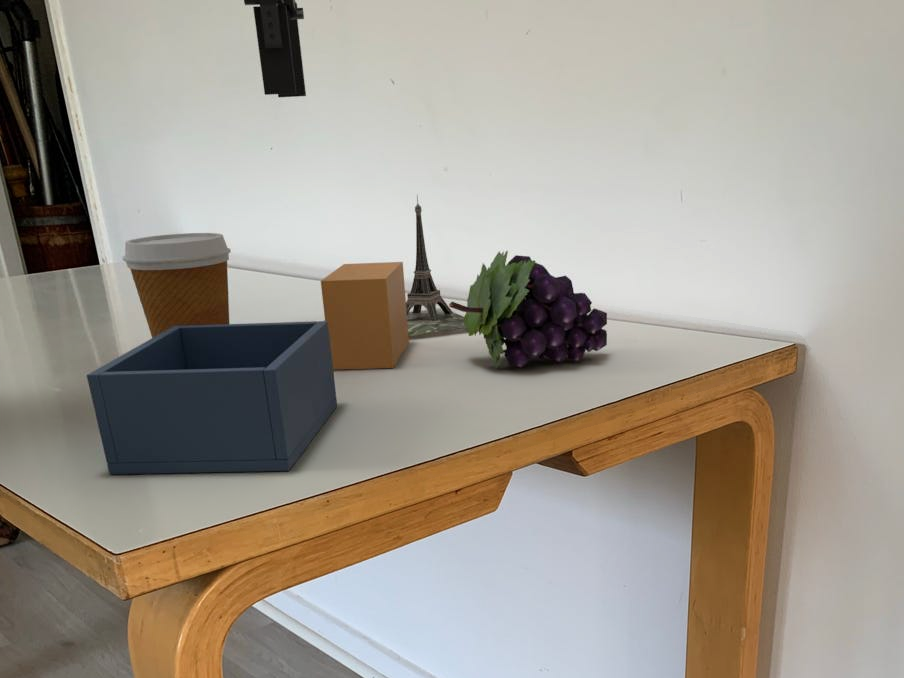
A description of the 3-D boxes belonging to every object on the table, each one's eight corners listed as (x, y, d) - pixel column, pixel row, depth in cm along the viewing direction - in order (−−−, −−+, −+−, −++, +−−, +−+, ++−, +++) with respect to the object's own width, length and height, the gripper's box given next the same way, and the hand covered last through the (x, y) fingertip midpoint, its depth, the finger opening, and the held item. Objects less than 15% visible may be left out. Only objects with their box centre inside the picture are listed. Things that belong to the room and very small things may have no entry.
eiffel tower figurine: (359, 319, 116) (347, 194, 110) (439, 309, 119) (432, 188, 113) (400, 340, 104) (389, 202, 97) (488, 329, 107) (483, 194, 101)
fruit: (605, 398, 91) (452, 374, 86) (570, 356, 99) (428, 332, 94) (642, 288, 86) (480, 255, 81) (601, 253, 94) (452, 221, 89)
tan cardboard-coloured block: (330, 370, 93) (320, 280, 89) (352, 345, 103) (343, 263, 99) (393, 368, 93) (385, 278, 89) (409, 343, 102) (402, 261, 98)
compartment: (109, 474, 68) (86, 374, 64) (188, 410, 82) (173, 325, 79) (289, 471, 67) (275, 369, 63) (337, 406, 81) (327, 320, 78)
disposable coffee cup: (189, 389, 89) (163, 246, 83) (126, 377, 94) (97, 243, 88) (269, 367, 95) (250, 233, 90) (205, 357, 100) (184, 231, 95)
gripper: (284, -243, 72) (320, 90, 82) (306, -159, 94) (332, 95, 104) (180, -240, 71) (229, 94, 81) (226, -156, 93) (260, 99, 103)
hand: (286, 96), depth 93 cm, fingers open, 13 cm apart
